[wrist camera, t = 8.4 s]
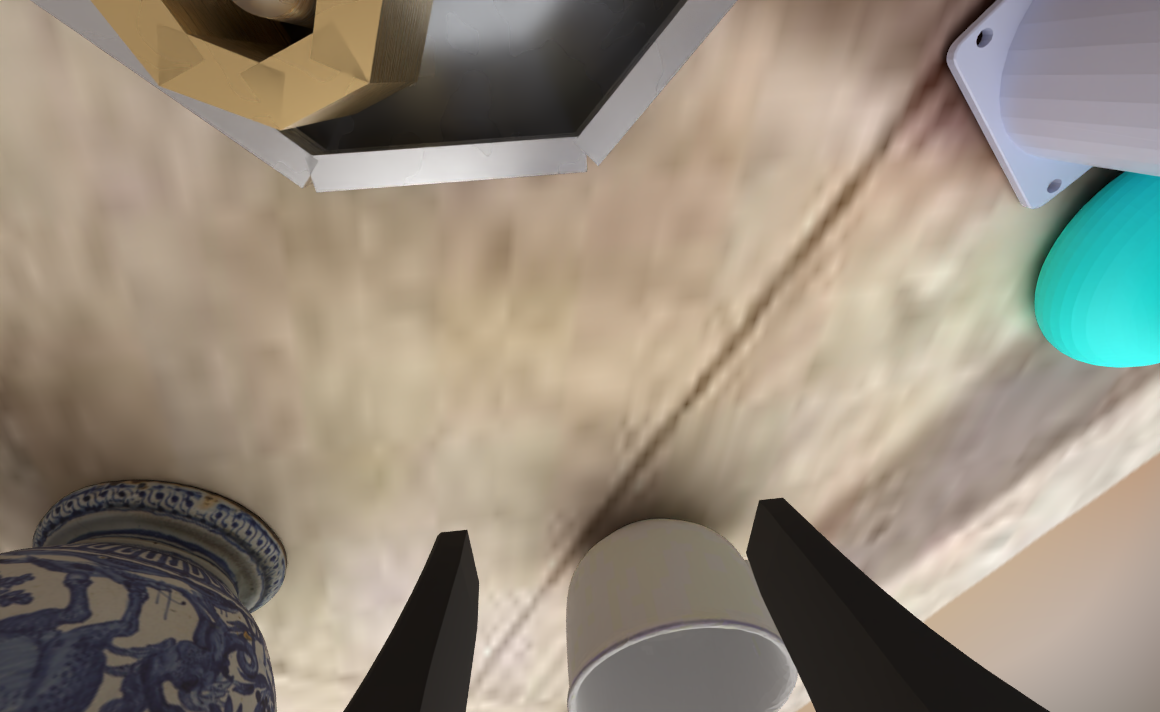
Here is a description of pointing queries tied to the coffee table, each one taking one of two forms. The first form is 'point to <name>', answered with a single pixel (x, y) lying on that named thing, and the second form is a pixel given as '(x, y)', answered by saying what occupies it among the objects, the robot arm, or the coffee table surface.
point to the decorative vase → (139, 604)
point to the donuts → (1106, 278)
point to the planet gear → (276, 55)
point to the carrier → (469, 89)
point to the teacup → (671, 626)
